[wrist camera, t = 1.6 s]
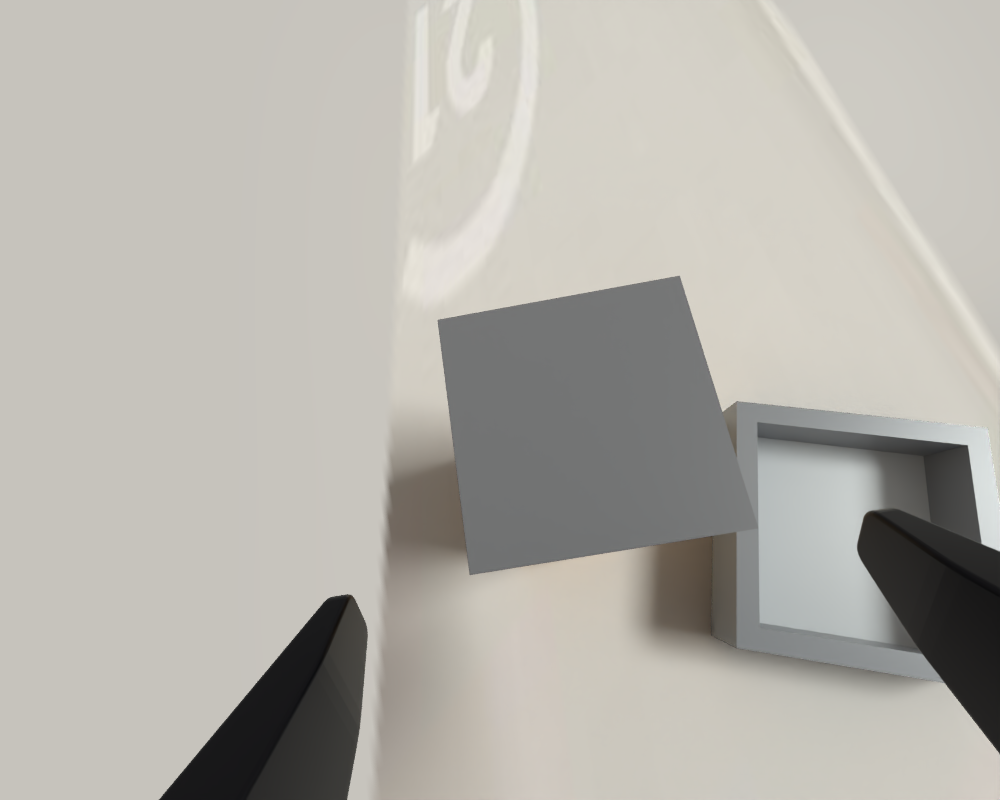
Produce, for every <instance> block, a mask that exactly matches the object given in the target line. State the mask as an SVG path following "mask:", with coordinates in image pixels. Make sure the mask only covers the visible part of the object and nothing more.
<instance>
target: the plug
mask: <svg viewBox="0 0 1000 800" xmlns="http://www.w3.org/2000/svg"><path fill="white" fill-rule="evenodd" d="M438 327H439V335H440V343H441V351H442V359H443V367H444V374H445V382H446V390H447V398H448V406H449V414H450V422H451V430H452V438H453V446H454V454H455V461H456V469H457V477H458V485H459V493H460V501H461V509H462V517H463V525H464V533H465V541H466V548H467V556H468V564H469V572H470V575H473V574H479V573H485V572H492V571H498V570H504V569H510V568H516V567H523V566H529V565H535V564H541V563H547V562H554V561H560V560H566V559H572V558H578V557H585V556H591V555H597V554H603V553H609V552H616V551H622V550H628V549H634V548H640V547H647V546H653V545H659V544H665V543H671V542H678V541H684V540H690V539H696V538H702V537H709V536H715V535H721V534H727V533H733V532H740V531H746V530H752V529H758V525H757V522H756V518H755V515H754V512H753V509H752V506H751V502H750V499H749V496H748V493H747V490H746V486H745V483H744V480H743V477H742V474H741V470H740V467H739V464H738V461H737V458H736V455H735V451H734V448H733V445H732V442H731V439H730V435H729V432H728V429H727V426H726V423H725V419H724V416H723V413H722V410H721V407H720V403H719V400H718V397H717V394H716V391H715V387H714V384H713V381H712V378H711V375H710V371H709V368H708V365H707V362H706V359H705V355H704V352H703V349H702V346H701V343H700V339H699V336H698V333H697V330H696V327H695V323H694V320H693V317H692V314H691V311H690V307H689V304H688V301H687V298H686V295H685V291H684V288H683V285H682V282H681V279H680V276H676V277H670V278H665V279H659V280H654V281H648V282H643V283H637V284H632V285H627V286H621V287H616V288H610V289H605V290H599V291H594V292H588V293H583V294H577V295H572V296H566V297H561V298H555V299H550V300H544V301H539V302H533V303H528V304H522V305H517V306H511V307H506V308H500V309H495V310H490V311H484V312H479V313H473V314H468V315H462V316H457V317H451V318H446V319H440V320H438Z"/></svg>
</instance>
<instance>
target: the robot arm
mask: <svg viewBox="0 0 1000 800" xmlns="http://www.w3.org/2000/svg"><path fill="white" fill-rule="evenodd" d="M857 552H858V555H859V557H860V560H861V561H862V563H863V565H864V566H865V568H866V569H867V571H868V572H869V574H870V575H871V577H872V579H873V580H874V582H875V583H876V585H877V586H878V588H879V589H880V591H881V593H882V594H883V596H884V597H885V599H886V600H887V602H888V603H889V605H890V607H891V608H892V610H893V611H894V613H895V614H896V616H897V617H898V619H899V621H900V622H901V624H902V625H903V627H904V628H905V630H906V631H907V633H908V634H909V636H910V637H911V639H912V640H913V642H914V643H915V645H916V646H917V647H918V649H919V650H920V651H921V653H922V654H923V655H924V657H925V658H926V660H927V661H928V662H929V663H930V665H931V666H932V667H933V669H934V670H935V671H936V672H937V674H938V675H939V676H940V678H941V679H942V680H943V681H944V683H945V684H946V685H947V687H948V688H949V689H950V690H951V692H952V693H953V694H954V696H955V697H956V698H957V699H958V701H959V702H960V703H961V705H962V706H963V707H964V708H965V710H966V711H967V712H968V714H969V715H970V716H971V717H972V719H973V720H974V721H975V723H976V724H977V725H978V726H979V728H980V729H981V730H982V732H983V733H984V734H985V735H986V737H987V738H988V739H989V741H990V742H991V743H992V744H993V746H994V747H995V748H996V750H997V751H998V752H999V753H1000V551H998V550H995V549H993V548H991V547H988V546H986V545H983V544H981V543H979V542H976V541H974V540H971V539H969V538H967V537H964V536H962V535H959V534H957V533H955V532H952V531H950V530H948V529H945V528H943V527H940V526H938V525H936V524H933V523H931V522H928V521H926V520H924V519H921V518H919V517H916V516H914V515H912V514H909V513H907V512H904V511H902V510H899V509H897V508H883V509H877V510H871V511H868V512H867V513H866V514H865V515H864V517H863V521H862V525H861V530H860V534H859V538H858V542H857ZM367 637H368V634H367V626H366V623H365V620H364V618H363V616H362V614H361V612H360V609H359V607H358V605H357V603H356V601H355V599H354V597H353V596H352V595H348V594H347V595H341V596H335V597H330V598H328V599H327V600H326V601H325V602H324V603H323V604H322V606H321V607H320V608H319V609H318V610H317V611H316V613H315V614H314V615H313V616H312V617H311V619H310V620H309V621H308V622H307V623H306V624H305V626H304V627H303V628H302V629H301V630H300V632H299V633H298V634H297V635H296V636H295V638H294V639H293V640H292V641H291V643H290V644H289V645H288V646H287V647H286V648H285V650H284V651H283V652H282V653H281V654H280V656H279V657H278V658H277V659H276V660H275V662H274V663H273V664H272V665H271V666H270V668H269V669H268V670H267V671H266V672H265V674H264V675H263V676H262V677H261V678H260V680H259V681H258V682H257V683H256V684H255V686H254V687H253V688H252V689H251V691H250V692H249V693H248V694H247V695H246V696H245V698H244V699H243V700H242V701H241V702H240V704H239V705H238V706H237V707H236V708H235V709H234V711H233V712H232V713H231V714H230V716H229V717H228V718H227V719H226V720H225V721H224V723H223V724H222V725H221V726H220V727H219V729H218V730H217V731H216V732H215V733H214V735H213V736H212V737H211V738H210V740H209V741H208V742H207V743H206V744H205V746H204V747H203V748H202V749H201V750H200V751H199V753H198V754H197V755H196V756H195V757H194V759H193V760H192V761H191V763H189V765H188V766H187V767H186V768H185V769H184V771H183V772H182V773H181V774H180V775H179V776H178V778H177V779H176V780H175V781H174V783H173V784H172V785H171V786H170V787H169V788H168V790H167V791H166V792H165V793H164V794H163V796H162V797H161V798H160V799H159V800H347V796H348V791H349V786H350V780H351V774H352V770H353V764H354V759H355V753H356V748H357V742H358V735H359V729H360V720H361V709H362V697H363V686H364V674H365V661H366V650H367Z"/></svg>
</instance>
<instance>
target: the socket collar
mask: <svg viewBox="0 0 1000 800" xmlns="http://www.w3.org/2000/svg"><path fill="white" fill-rule="evenodd" d="M722 413H723V416H724V419H725V423H726V426H727V429H728V432H729V435H730V439H731V442H732V445H733V448H734V451H735V455H736V458H737V461H738V464H739V467H740V470H741V474H742V477H743V480H744V483H745V486H746V490H747V493H748V496H749V499H750V502H751V506H752V509H753V512H754V515H755V518H756V522H757V525H758V529H752V530H746V531H740V532H733V533H727V534H721V535H715V536H713V545H712V613H711V635H712V636H714V637H716V638H718V639H720V640H722V641H724V642H726V643H728V644H730V645H732V646H733V647H735V648H739V649H745V650H751V651H757V652H763V653H769V654H775V655H781V656H787V657H793V658H799V659H805V660H811V661H817V662H823V663H828V664H834V665H840V666H846V667H852V668H858V669H864V670H870V671H876V672H882V673H888V674H894V675H900V676H906V677H912V678H918V679H924V680H930V681H936V682H942V683H944V681H943V680H942V679H941V678H940V676H939V675H938V674H937V672H936V671H935V670H934V669H933V667H932V666H931V665H930V663H929V662H928V661H927V660H926V658H925V657H924V655H923V654H922V653H921V651H920V650H919V649H918V647H917V646H916V645H915V643H914V642H913V640H912V639H911V637H910V636H909V634H908V633H907V631H906V630H905V628H904V627H903V625H902V624H901V622H900V621H899V619H898V617H897V616H896V614H895V613H894V611H893V610H892V608H891V607H890V605H889V603H888V602H887V600H886V599H885V597H884V596H883V594H882V593H881V591H880V589H879V588H878V586H877V585H876V583H875V582H874V580H873V579H872V577H871V575H870V574H869V572H868V571H867V569H866V568H865V566H864V565H863V563H862V561H861V560H860V557H859V555H858V552H857V542H858V538H859V534H860V530H861V525H862V521H863V517H864V515H865V514H866V513H867V512H868V511H871V510H877V509H883V508H897V509H899V510H902V511H904V512H907V513H909V514H912V515H914V516H916V517H919V518H921V519H924V520H926V521H928V522H931V523H933V524H936V525H938V526H940V527H943V528H945V529H948V530H950V531H952V532H955V533H957V534H959V535H962V536H964V537H967V538H969V539H971V540H974V541H976V542H979V543H981V544H983V545H986V546H988V547H991V548H993V549H995V550H998V551H1000V504H999V497H998V491H997V484H996V478H995V471H994V465H993V458H992V452H991V445H990V439H989V432H988V428H985V427H976V426H966V425H957V424H947V423H938V422H928V421H919V420H909V419H900V418H890V417H881V416H871V415H862V414H852V413H842V412H833V411H823V410H814V409H804V408H795V407H785V406H776V405H766V404H757V403H747V402H738V401H737V402H735V403H734V404H733V405H731V406H730V407H729V408H727V409H726V410H725V411H724V412H722Z"/></svg>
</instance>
